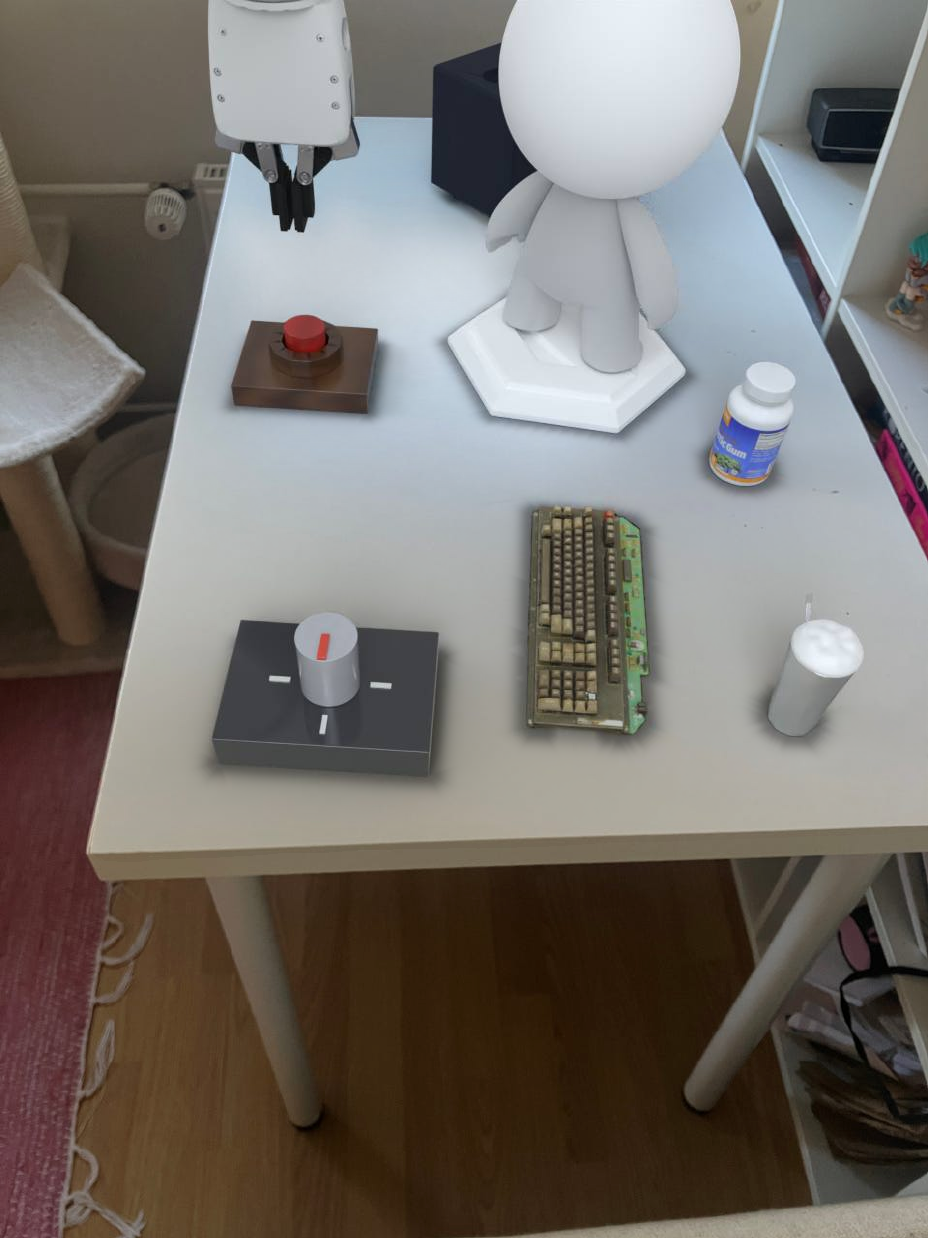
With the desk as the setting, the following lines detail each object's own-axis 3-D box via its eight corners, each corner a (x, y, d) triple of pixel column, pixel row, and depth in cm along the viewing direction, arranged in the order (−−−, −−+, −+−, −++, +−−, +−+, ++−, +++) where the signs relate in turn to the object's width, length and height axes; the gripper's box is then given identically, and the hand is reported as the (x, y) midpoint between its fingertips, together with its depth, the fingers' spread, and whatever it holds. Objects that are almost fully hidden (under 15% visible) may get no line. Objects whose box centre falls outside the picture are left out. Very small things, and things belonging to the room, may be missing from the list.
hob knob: (305, 656, 69) (299, 606, 65) (363, 661, 69) (361, 611, 65) (295, 704, 66) (288, 655, 62) (356, 709, 66) (353, 660, 62)
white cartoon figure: (715, 349, 99) (831, -63, 72) (580, 466, 87) (659, 24, 60) (551, 272, 106) (601, -127, 79) (408, 369, 94) (409, -61, 68)
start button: (282, 353, 89) (280, 336, 88) (288, 329, 92) (287, 312, 90) (323, 355, 89) (321, 339, 88) (328, 332, 92) (327, 315, 90)
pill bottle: (696, 455, 88) (723, 363, 81) (746, 440, 90) (777, 349, 83) (731, 495, 85) (762, 403, 78) (782, 478, 87) (818, 387, 80)
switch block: (234, 405, 90) (228, 368, 87) (253, 339, 96) (248, 302, 93) (367, 413, 90) (366, 377, 87) (378, 347, 97) (377, 311, 93)
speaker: (557, 141, 126) (572, 9, 114) (635, 181, 120) (659, 46, 108) (428, 195, 116) (431, 56, 104) (507, 241, 110) (518, 99, 98)
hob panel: (217, 764, 66) (210, 737, 64) (245, 645, 73) (240, 617, 70) (428, 777, 67) (429, 751, 64) (438, 657, 73) (439, 630, 70)
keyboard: (531, 510, 83) (534, 492, 82) (639, 519, 83) (644, 501, 82) (523, 728, 69) (525, 712, 68) (653, 740, 69) (658, 723, 68)
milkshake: (793, 675, 73) (839, 585, 66) (835, 734, 70) (888, 646, 62) (739, 692, 72) (779, 602, 64) (780, 752, 69) (827, 665, 61)
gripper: (389, -45, 70) (391, 206, 84) (172, -60, 70) (211, 194, 84) (378, -5, 65) (383, 254, 79) (146, -21, 65) (192, 241, 79)
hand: (295, 222), depth 82 cm, fingers closed
